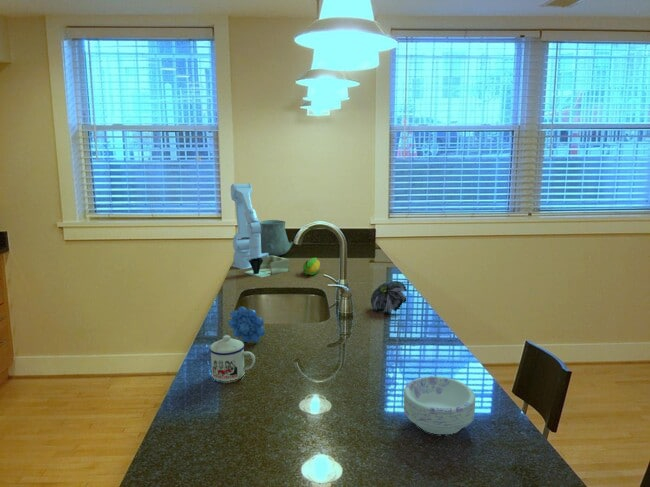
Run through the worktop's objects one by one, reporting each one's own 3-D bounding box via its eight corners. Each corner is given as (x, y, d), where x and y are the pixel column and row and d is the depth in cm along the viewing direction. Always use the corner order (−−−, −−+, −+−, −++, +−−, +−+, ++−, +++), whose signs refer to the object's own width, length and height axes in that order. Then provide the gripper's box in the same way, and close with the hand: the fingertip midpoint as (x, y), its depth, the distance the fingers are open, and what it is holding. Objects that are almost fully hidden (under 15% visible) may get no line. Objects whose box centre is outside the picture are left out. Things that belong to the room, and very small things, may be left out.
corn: (300, 261, 236) (310, 253, 256) (299, 277, 238) (309, 267, 257) (315, 263, 235) (324, 254, 254) (314, 278, 236) (323, 269, 256)
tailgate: (253, 271, 250) (243, 274, 246) (253, 269, 250) (243, 271, 246) (270, 276, 240) (260, 278, 236) (270, 274, 240) (260, 276, 236)
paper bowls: (441, 453, 99) (443, 416, 97) (389, 420, 111) (389, 387, 109) (488, 427, 107) (490, 394, 106) (435, 400, 119) (436, 369, 118)
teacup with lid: (207, 384, 129) (204, 342, 127) (217, 369, 138) (214, 329, 136) (252, 385, 128) (250, 343, 126) (259, 370, 137) (257, 330, 135)
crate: (255, 271, 251) (254, 258, 250) (272, 267, 258) (272, 255, 257) (272, 276, 241) (271, 262, 240) (289, 272, 248) (289, 259, 247)
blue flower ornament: (225, 347, 153) (223, 310, 151) (231, 339, 160) (230, 304, 158) (262, 348, 152) (260, 311, 150) (267, 340, 159) (265, 304, 157)
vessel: (296, 257, 283) (296, 223, 279) (258, 260, 277) (256, 224, 274) (289, 250, 304) (288, 218, 300) (253, 252, 298) (252, 219, 294)
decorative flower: (359, 283, 189) (393, 269, 192) (363, 306, 195) (397, 292, 198) (377, 303, 177) (413, 288, 180) (381, 327, 183) (416, 312, 187)
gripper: (247, 249, 232) (248, 277, 235) (272, 245, 242) (272, 272, 245) (239, 247, 237) (240, 275, 240) (263, 243, 247) (264, 269, 250)
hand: (256, 273), depth 243 cm, fingers closed
